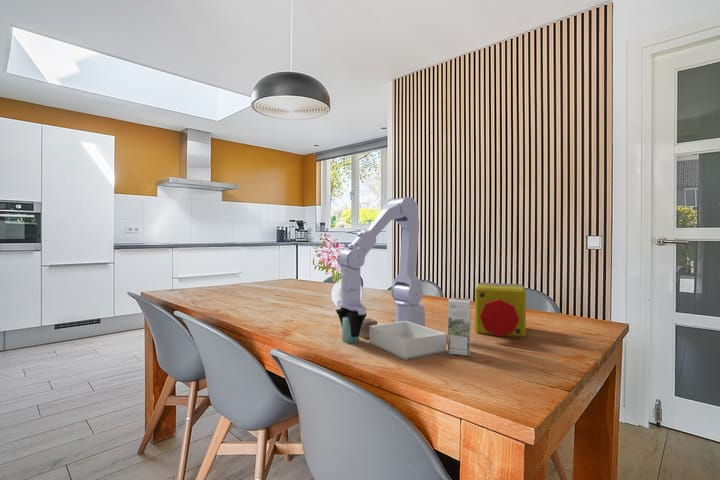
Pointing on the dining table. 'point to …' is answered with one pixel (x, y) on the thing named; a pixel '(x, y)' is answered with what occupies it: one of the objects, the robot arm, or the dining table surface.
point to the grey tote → (407, 339)
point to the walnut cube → (366, 327)
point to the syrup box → (459, 326)
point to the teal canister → (347, 332)
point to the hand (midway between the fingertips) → (350, 334)
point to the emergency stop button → (500, 309)
